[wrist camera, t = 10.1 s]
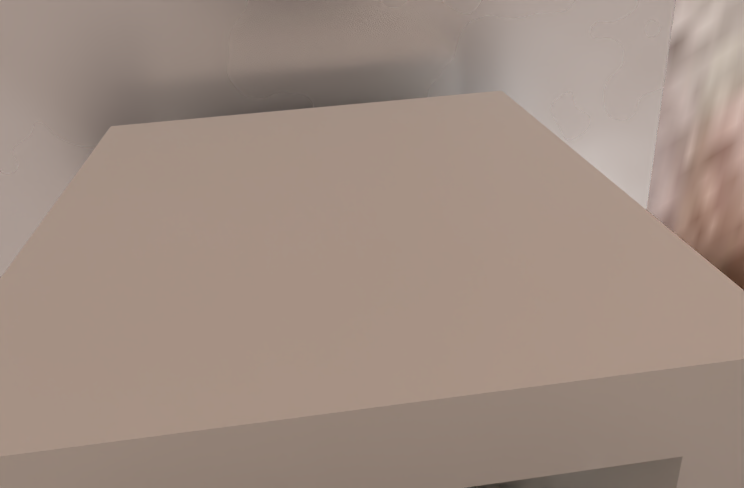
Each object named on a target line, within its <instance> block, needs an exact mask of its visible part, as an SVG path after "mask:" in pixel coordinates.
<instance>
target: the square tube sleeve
mask: <svg viewBox="0 0 744 488" xmlns="http://www.w3.org/2000/svg"><path fill="white" fill-rule="evenodd" d="M474 486H476V488H744V290H743V289H742V288H740V287H739V286H738V285H737V284H735V283H734V282H733V281H732V280H731V279H729V278H728V277H727V276H726V275H725V274H723V273H722V272H721V271H720V270H719V269H717V268H716V267H715V266H714V265H712V264H711V263H710V262H709V261H708V260H706V259H705V258H704V257H703V256H702V255H700V254H699V253H698V252H697V251H696V250H694V249H693V248H692V247H691V246H689V245H688V244H687V243H686V242H685V241H683V240H682V239H681V238H680V237H679V236H677V235H676V234H675V233H674V232H673V231H671V230H670V229H669V228H668V227H666V226H665V225H664V224H663V223H662V222H660V221H659V220H658V219H657V218H656V217H654V216H653V215H652V214H651V213H650V212H648V211H647V210H646V209H645V208H643V207H642V206H641V205H640V204H639V203H637V202H636V201H635V200H634V199H633V198H631V197H630V196H629V195H628V194H627V193H625V192H624V191H623V190H622V189H620V188H619V187H618V186H617V185H616V184H614V183H613V182H612V181H611V180H610V179H608V178H607V177H606V176H605V175H603V174H602V173H601V172H600V171H599V170H597V169H596V168H595V167H594V166H593V165H591V164H590V163H589V162H588V161H587V160H585V159H584V158H583V157H582V156H580V155H579V154H578V153H577V152H576V151H574V150H573V149H572V148H571V147H570V146H568V145H567V144H566V143H565V142H564V141H562V140H561V139H560V138H559V137H557V136H556V135H555V134H554V133H553V132H551V131H550V130H549V129H548V128H547V127H545V126H544V125H543V124H542V123H541V122H539V121H538V120H537V119H536V118H534V117H533V116H532V115H531V114H530V113H528V112H527V111H526V110H525V109H524V108H522V107H521V106H520V105H519V104H518V103H516V102H515V101H514V100H513V99H511V98H510V97H509V96H508V95H507V94H505V93H504V92H503V91H492V92H481V93H470V94H459V95H448V96H437V97H426V98H415V99H404V100H393V101H382V102H371V103H360V104H349V105H338V106H327V107H316V108H305V109H294V110H283V111H272V112H261V113H250V114H239V115H228V116H217V117H206V118H195V119H184V120H173V121H162V122H151V123H140V124H129V125H118V126H111V127H110V128H109V129H108V131H107V132H106V134H105V135H104V136H103V138H102V139H101V140H100V142H99V143H98V145H97V146H96V147H95V149H94V150H93V151H92V153H91V154H90V156H89V157H88V158H87V160H86V161H85V162H84V164H83V165H82V167H81V168H80V169H79V171H78V172H77V173H76V175H75V176H74V178H73V179H72V180H71V182H70V183H69V184H68V186H67V187H66V189H65V190H64V191H63V193H62V194H61V195H60V197H59V198H58V200H57V201H56V202H55V204H54V205H53V206H52V208H51V209H50V211H49V212H48V213H47V215H46V216H45V217H44V219H43V220H42V222H41V223H40V224H39V226H38V227H37V229H36V230H35V231H34V233H33V234H32V235H31V237H30V238H29V240H28V241H27V242H26V244H25V245H24V246H23V248H22V249H21V251H20V252H19V253H18V255H17V256H16V257H15V259H14V260H13V262H12V263H11V264H10V266H9V267H8V268H7V270H6V271H5V273H4V274H3V275H2V277H1V278H0V488H467V487H474Z"/></svg>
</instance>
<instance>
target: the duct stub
mask: <svg viewBox="0 0 744 488" xmlns="http://www.w3.org/2000/svg"><path fill="white" fill-rule="evenodd" d="M675 2H676V0H0V278H1V277H2V275H3V274H4V273H5V271H6V270H7V268H8V267H9V266H10V264H11V263H12V262H13V260H14V259H15V257H16V256H17V255H18V253H19V252H20V251H21V249H22V248H23V246H24V245H25V244H26V242H27V241H28V240H29V238H30V237H31V235H32V234H33V233H34V231H35V230H36V229H37V227H38V226H39V224H40V223H41V222H42V220H43V219H44V217H45V216H46V215H47V213H48V212H49V211H50V209H51V208H52V206H53V205H54V204H55V202H56V201H57V200H58V198H59V197H60V195H61V194H62V193H63V191H64V190H65V189H66V187H67V186H68V184H69V183H70V182H71V180H72V179H73V178H74V176H75V175H76V173H77V172H78V171H79V169H80V168H81V167H82V165H83V164H84V162H85V161H86V160H87V158H88V157H89V156H90V154H91V153H92V151H93V150H94V149H95V147H96V146H97V145H98V143H99V142H100V140H101V139H102V138H103V136H104V135H105V134H106V132H107V131H108V129H109V128H110V127H111V126H118V125H129V124H140V123H151V122H162V121H173V120H184V119H195V118H206V117H217V116H228V115H239V114H250V113H261V112H272V111H283V110H294V109H305V108H316V107H327V106H338V105H349V104H360V103H371V102H382V101H393V100H404V99H415V98H426V97H437V96H448V95H459V94H470V93H481V92H492V91H503V92H504V93H505V94H507V95H508V96H509V97H510V98H511V99H513V100H514V101H515V102H516V103H518V104H519V105H520V106H521V107H522V108H524V109H525V110H526V111H527V112H528V113H530V114H531V115H532V116H533V117H534V118H536V119H537V120H538V121H539V122H541V123H542V124H543V125H544V126H545V127H547V128H548V129H549V130H550V131H551V132H553V133H554V134H555V135H556V136H557V137H559V138H560V139H561V140H562V141H564V142H565V143H566V144H567V145H568V146H570V147H571V148H572V149H573V150H574V151H576V152H577V153H578V154H579V155H580V156H582V157H583V158H584V159H585V160H587V161H588V162H589V163H590V164H591V165H593V166H594V167H595V168H596V169H597V170H599V171H600V172H601V173H602V174H603V175H605V176H606V177H607V178H608V179H610V180H611V181H612V182H613V183H614V184H616V185H617V186H618V187H619V188H620V189H622V190H623V191H624V192H625V193H627V194H628V195H629V196H630V197H631V198H633V199H634V200H635V201H636V202H637V203H639V204H640V205H641V206H642V207H643V208H645V209H646V210H647V204H648V196H649V189H650V182H651V175H652V168H653V160H654V153H655V146H656V139H657V132H658V124H659V117H660V110H661V103H662V96H663V88H664V81H665V74H666V67H667V60H668V52H669V45H670V38H671V31H672V24H673V16H674V9H675ZM467 488H476V486H474V487H467Z"/></svg>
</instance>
